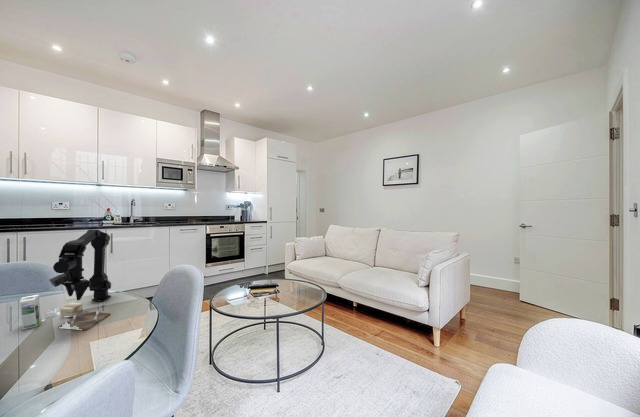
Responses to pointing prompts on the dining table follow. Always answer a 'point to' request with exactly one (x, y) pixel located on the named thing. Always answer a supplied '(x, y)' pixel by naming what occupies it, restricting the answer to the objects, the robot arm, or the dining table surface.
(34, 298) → the syrup box
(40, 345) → the dining table surface
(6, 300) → the dining table surface
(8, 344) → the dining table surface
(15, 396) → the dining table surface
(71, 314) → the ash block
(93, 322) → the socket board
